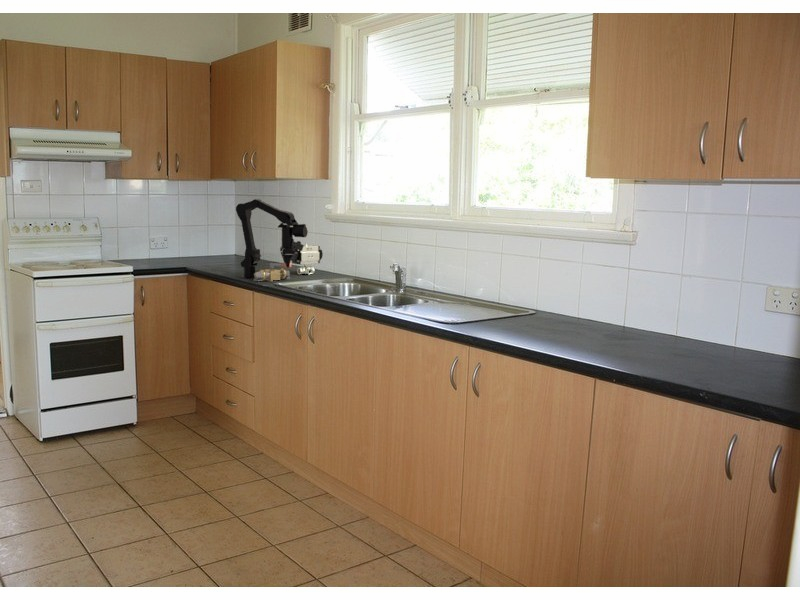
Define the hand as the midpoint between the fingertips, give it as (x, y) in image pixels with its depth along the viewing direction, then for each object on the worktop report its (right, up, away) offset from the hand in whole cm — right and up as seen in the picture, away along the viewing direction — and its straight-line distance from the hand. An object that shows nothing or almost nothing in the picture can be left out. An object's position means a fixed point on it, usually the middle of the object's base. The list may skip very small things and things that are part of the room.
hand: (287, 266), depth 378 cm
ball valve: (+7, -4, +26) cm, 27 cm away
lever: (-3, -2, -2) cm, 4 cm away
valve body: (-8, -7, 0) cm, 11 cm away
